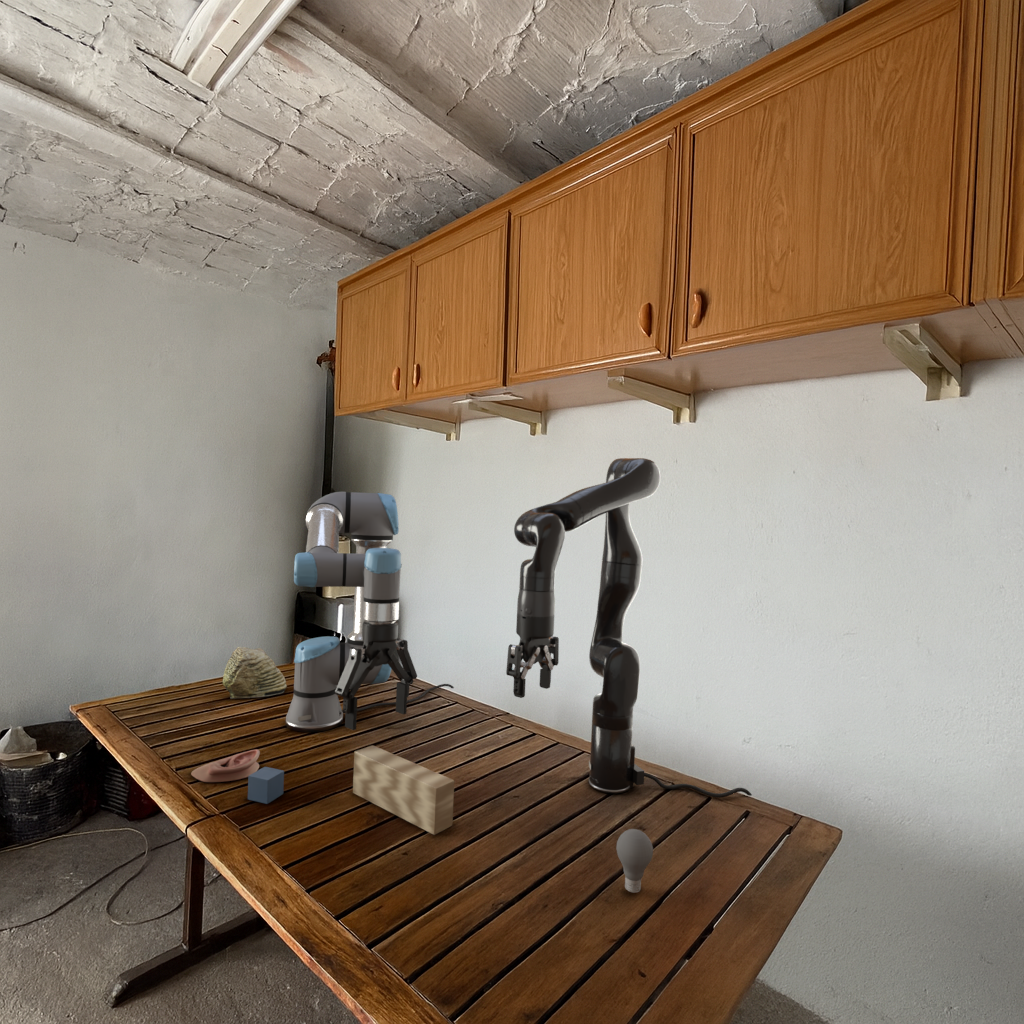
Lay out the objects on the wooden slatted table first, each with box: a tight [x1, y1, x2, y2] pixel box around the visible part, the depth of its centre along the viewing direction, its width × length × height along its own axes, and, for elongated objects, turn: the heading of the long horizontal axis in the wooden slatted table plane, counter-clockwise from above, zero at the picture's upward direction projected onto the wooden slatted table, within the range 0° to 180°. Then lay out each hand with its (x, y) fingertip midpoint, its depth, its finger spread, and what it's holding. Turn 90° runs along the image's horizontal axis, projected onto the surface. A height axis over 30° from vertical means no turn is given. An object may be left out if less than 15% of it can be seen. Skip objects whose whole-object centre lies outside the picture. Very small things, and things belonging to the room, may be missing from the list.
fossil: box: [222, 646, 288, 699], centre depth 198 cm, size 9×18×15 cm, turn 132°
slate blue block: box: [247, 766, 285, 805], centre depth 133 cm, size 5×5×5 cm
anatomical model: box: [190, 748, 261, 783], centre depth 143 cm, size 13×4×12 cm
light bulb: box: [615, 828, 654, 894], centre depth 106 cm, size 6×6×10 cm
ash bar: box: [352, 744, 455, 836], centre depth 130 cm, size 25×5×9 cm, turn 51°
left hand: (376, 720), depth 135 cm, fingers open, 13 cm apart
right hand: (532, 692), depth 127 cm, fingers open, 8 cm apart
